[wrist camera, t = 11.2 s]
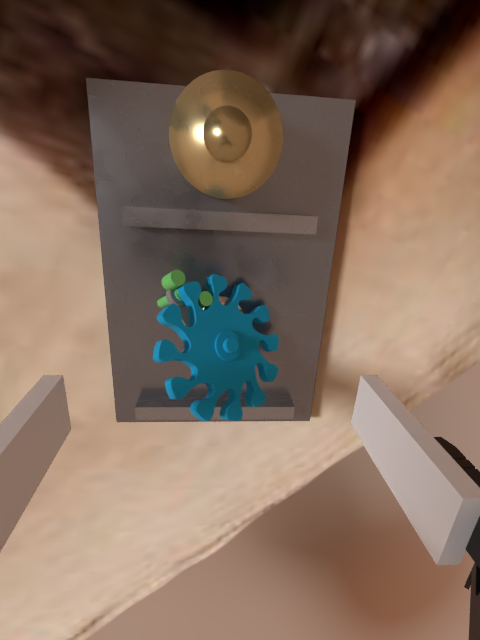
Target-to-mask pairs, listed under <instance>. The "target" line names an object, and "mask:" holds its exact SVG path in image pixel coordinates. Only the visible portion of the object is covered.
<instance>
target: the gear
mask: <svg viewBox="0 0 480 640" xmlns="http://www.w3.org/2000/svg"><path fill="white" fill-rule="evenodd" d="M205 283H206V288H207V291H203V292H201V286H200V284H199V283H198V282H196V281H193V282H188V283H186V284H185V275H184V273H183V272H182V271H180V270H174V271H172V272H170V273H169V274H167V275H165V276H164V277H163V278H162V286H163V287H164V288H165V289H166V290H167V291H166V296H164V297H162V298H160V299H158V301H157V305H158V306H159V307H160V308H163V309H162V310H161V312H160V313H159V314H158V316H157V320H158V322H159V323H160V324H162V325H164V326H167V327H169V328H171V329H173V330H174V331H175V332H176V333H177V334H178V335H179V336H180V338H181V339H182V341H183V343H184V346H185V348H184V349H183V352H182V353H181V352H179V351H178V350H177V348H176V346H175V345H174V344H173V342H171V341H169V340H162V341H158V342H156V344H155V347H154V351H153V360H154V361H155V362H158V363H163V362H169V361H179V362H181V363H184V364H186V365H187V366H189V367H190V369H191V377H190V378H189V379H188V380H187V379H185V378H183V377H170V378H168V379H167V380H166V381H165V387H166V391H167V394H168V396H169V398H170V399H182V398H184V397H185V396H186V395H187V393H188V392H189V391H190V390H191V389H192V388H193V387H195V386H196V385H199V384H202V383H204V384H205V385H206V386H207V388H208V394H207V396H206V397H205V398H204V399H200V400H196V401H194V402H193V403H192V404H191V406H190V409H189V410H190V411H191V413H192V414H193V415H194V416H195V417H196V418H198V419H199V420H201V421H209V420H210V419H211V418H212V417H213V414H214V408H215V405H216V402H217V400H218V398H219V397H220V395H221V394H222V393H223V392H224V391H225V390H227V392H228V395H229V398H228V401H227V402H226V403H225V404H224V405H223V406H222V407H221V410H220V418H222V419H224V420H231V421H241V419H242V416H243V411H242V408H241V401H240V397H241V391H242V387H243V384H244V382H245V383H246V386H247V391H246V394H245V404H246V405H247V407H258V406H260V405H262V404H263V403H264V402H265V401H266V396H265V393H264V392H263V391H262V390H261V388H260V387H259V385H258V382H257V379H256V373H255V367H256V365H257V367H258V371H259V377H260V379H261V380H262V381H263V382H273V381H274V379H275V378H276V376H277V374H278V371H279V370H278V368H277V366H276V365H274V364H271V363H269V362H268V361H266V360H265V358H264V357H263V356H262V354H261V352H260V351H259V348H258V344H259V343H260V345H261V347H262V348H263V350H264V351H266V352H271V351H277V350H278V345H279V337H278V336H277V335H276V334H270V335H263V334H261V333H259V332H257V331H256V330H255V329H254V328H253V326H252V321H254V322H256V323H258V324H259V323H264V322H267V321H269V320H270V314H269V311H268V309H267V306H266V305H261V306H258V307H255V308H253V310H252V311H251V312H250V313H249V314H243V313H241V312H240V310H239V308H238V303H239V302H243V301H246V300H249V299H250V298H251V297H252V292H251V290H250V289H249V288H248V286H247V285H246V284H245V283H241V284H239V285H236V286H234V287H233V289H232V294H231V297H230V299H229V301H228V302H227V303H226V304H225V305H222V304H221V303H220V301H219V294H220V293H221V292H222V291H223V290H225V289H226V287H227V279H226V278H224V277H222V276H220V275H217V274H213V275H211V276H209V277H207V279H206V282H205ZM164 307H165V308H164ZM204 307H205V308H204ZM202 308H204V309H202Z"/></svg>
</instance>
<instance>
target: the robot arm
mask: <svg viewBox="0 0 480 640" xmlns="http://www.w3.org/2000/svg"><path fill="white" fill-rule="evenodd" d="M351 425H352V427H353V429H354V430H355V432H356V434H357V435H358V437H359V439H360V440H361V442H362V443H363V445H364V447H365V448H366V450H367V452H368V453H369V455H370V457H371V458H372V460H373V461H374V463H375V465H376V466H377V468H378V470H379V471H380V473H381V474H382V476H383V478H384V480H385V481H386V483H387V484H388V486H389V487H390V489H391V491H392V493H393V494H394V496H395V498H396V499H397V501H398V502H399V504H400V506H401V507H402V509H403V511H404V512H405V514H406V515H407V517H408V519H409V520H410V522H411V524H412V525H413V527H414V529H415V530H416V531H417V533H418V535H419V537H420V538H421V540H422V542H423V543H424V545H425V547H426V548H427V550H428V552H429V553H430V555H431V556H432V558H433V560H434V561H435V563H436V565H452V564H460V563H461V561H462V559H463V556H464V553H465V552H466V550H467V552H468V553H469V554H470V556H471V557H472V559H473V560H474V562H475V563H474V566H473V568H472V570H471V572H470V574H469V577H468V579H467V581H466V584H465V586H464V587H465V588H467V589H469V587H470V585H471V600H470V625H469V640H480V472H479V471H478V470H477V469H475V466H473V465H472V463H471V462H470V461H469V460H466V457H465V456H464V455H463V454H462V453H461V452H460V451H459V450H458V449H457V448H456V447H455V446H453V445H452V444H451V443H449V442H448V441H446V440H445V439H443V438H442V437H433V436H432V435H431V434H430V433H429V432H428V431H427V430H426V429H425V428H424V426H423V425H422V424H421V423H420V422H419V421H418V420H417V419H416V418H415V417H414V416H413V414H412V413H411V412H410V411H409V410H408V409H407V408H406V407H405V406H404V405H403V403H402V402H401V401H400V400H399V399H398V398H397V397H396V396H395V395H394V394H393V392H392V391H391V390H390V389H389V388H388V387H387V386H386V385H385V384H384V383H383V382H382V380H381V379H380V378H379V377H378V376H377V375H361V377H360V382H359V387H358V392H357V396H356V401H355V406H354V411H353V416H352V420H351ZM70 430H71V423H70V417H69V411H68V405H67V398H66V392H65V386H64V379H63V375H44V376H43V377H42V378H41V379H40V380H39V381H38V382H37V383H36V385H35V386H34V387H33V388H32V389H31V390H30V391H29V392H28V394H27V395H26V396H25V397H24V398H23V399H22V400H21V401H20V403H19V404H18V405H17V406H16V407H15V408H14V409H13V410H12V412H11V413H10V414H9V415H8V416H7V417H6V418H5V419H4V420H3V422H2V423H1V424H0V552H1V550H2V548H3V547H4V545H5V543H6V541H7V540H8V538H9V536H10V534H11V533H12V531H13V529H14V527H15V526H16V524H17V522H18V520H19V519H20V517H21V515H22V514H23V512H24V510H25V508H26V507H27V505H28V503H29V501H30V500H31V498H32V496H33V494H34V493H35V491H36V489H37V487H38V486H39V484H40V482H41V481H42V479H43V477H44V475H45V474H46V472H47V470H48V468H49V467H50V465H51V463H52V461H53V460H54V458H55V456H56V454H57V453H58V451H59V449H60V447H61V446H62V444H63V442H64V441H65V439H66V437H67V435H68V434H69V432H70Z"/></svg>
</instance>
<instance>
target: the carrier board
mask: <svg viewBox="0 0 480 640" xmlns="http://www.w3.org/2000/svg"><path fill="white" fill-rule="evenodd" d="M86 84H87V96H88V107H89V118H90V129H91V140H92V152H93V163H94V174H95V185H96V196H97V208H98V219H99V230H100V241H101V252H102V263H103V275H104V286H105V297H106V308H107V319H108V331H109V342H110V353H111V364H112V375H113V387H114V398H115V409H116V420H117V422H197V421H201V420H199V419H198V418H196V417H195V416H194V415H193V414H192V413H191V411H190V410H189V409H190V406H191V404H192V403H193V402H194V401H196V400H200V399H204V398H205V397H206V396H207V394H208V388H207V386H206V385H205V384H204V383H202V384H199V385H196V386H195V387H193V388H192V389H191V390H190V391H189V392H188V393H187V395H186V396H185V397H184V398H182V399H170V398H169V396H168V394H167V391H166V387H165V381H166V380H167V379H168V378H170V377H183V378H185V379H187V380H188V379H189V378H190V377H191V369H190V367H189V366H187V365H186V364H184V363H181V362H179V361H169V362H163V363H158V362H155V361H154V360H153V351H154V347H155V344H156V342H158V341H162V340H169V341H171V342H173V344H174V345H175V346H176V348H177V350H178V351H179V352H181V353H182V352H183V349H184V348H185V346H184V343H183V341H182V339H181V338H180V336H179V335H178V334H177V333H176V332H175V331H174V330H173V329H171V328H169V327H167V326H164V325H162V324H160V323H159V322H158V320H157V316H158V314H159V313H160V312H161V310H162V309H163V308H160V307H159V306H158V305H157V301H158V299H160V298H162V297H164V296H166V291H167V290H166V289H165V288H164V287H163V286H162V278H163V277H164V276H165V275H167V274H169V273H170V272H172V271H174V270H180V271H182V272H183V273H184V275H185V284H186V283H188V282H193V281H196V282H198V283H199V284H200V286H201V292H203V291H207V288H206V283H205V282H206V279H207V277H209V276H211V275H213V274H217V275H220V276H222V277H224V278H226V279H227V287H226V289H225V290H223V291H222V292H221V293H220V294H219V301H220V303H221V304H222V305H225V304H226V303H227V302H228V301H229V299H230V297H231V294H232V289H233V287H234V286H236V285H239V284H241V283H245V284H246V285H247V286H248V288H249V289H250V290H251V292H252V297H251V298H250V299H249V300H246V301H243V302H239V303H238V308H239V310H240V312H241V313H243V314H249V313H250V312H251V311H252V310H253V308H255V307H258V306H261V305H266V306H267V309H268V311H269V314H270V320H269V321H267V322H264V323H259V324H258V323H256V322H254V321H252V326H253V328H254V329H255V330H256V331H257V332H259V333H261V334H263V335H270V334H276V335H277V336H278V337H279V345H278V350H277V351H271V352H266V351H264V350H263V348H262V347H261V345H260V343H259V344H258V348H259V351H260V352H261V354H262V356H263V357H264V358H265V360H266V361H268V362H269V363H271V364H274V365H276V366H277V368H278V370H279V371H278V374H277V376H276V378H275V379H274V381H273V382H263V381H262V380H261V379H260V377H259V371H258V367H257V365H256V367H255V373H256V379H257V382H258V385H259V387H260V388H261V390H262V391H263V392H264V393H265V396H266V401H265V402H264V403H263V404H262V405H260V406H258V407H247V405H246V404H245V394H246V391H247V386H246V383H245V382H244V384H243V387H242V391H241V397H240V401H241V408H242V411H243V416H242V419H241V421H310V415H311V408H312V401H313V394H314V387H315V380H316V373H317V366H318V359H319V352H320V345H321V338H322V331H323V324H324V317H325V310H326V303H327V296H328V289H329V282H330V275H331V268H332V261H333V254H334V248H335V241H336V234H337V227H338V220H339V213H340V206H341V199H342V192H343V185H344V178H345V171H346V164H347V157H348V150H349V143H350V136H351V129H352V122H353V115H354V108H355V101H356V100H348V99H336V98H324V97H312V96H300V95H288V94H276V93H269V92H268V91H267V90H266V89H265V88H264V87H263V86H262V85H261V84H260V83H259V82H258V81H256V80H255V79H254V78H252V77H250V76H248V75H246V74H244V73H241V72H238V71H233V70H216V71H211V72H208V73H205V74H203V75H201V76H199V77H197V78H196V79H195V80H193V81H192V82H191V83H190V84H189V85H187V86H179V85H167V84H155V83H143V82H131V81H119V80H107V79H95V78H86ZM164 308H165V307H164ZM204 308H205V307H204ZM204 308H202V309H204ZM228 398H229V395H228V392H227V390H225V391H224V392H223V393H222V394H221V395H220V397H219V398H218V400H217V402H216V405H215V408H214V414H213V417H212V418H211V419H210V420H209V421H231V420H224V419H222V418H220V410H221V407H222V406H223V405H224V404H225V403H226V402H227V401H228Z"/></svg>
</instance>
